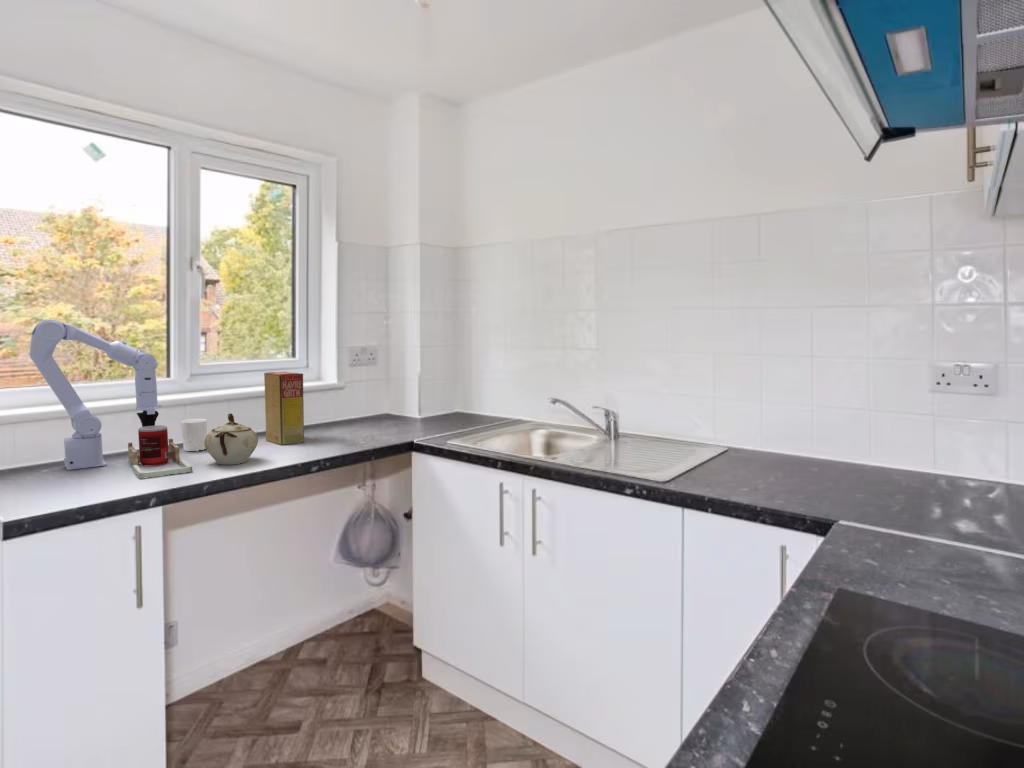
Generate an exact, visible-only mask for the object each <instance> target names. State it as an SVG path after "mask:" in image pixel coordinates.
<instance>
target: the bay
mask: <svg viewBox="0 0 1024 768" xmlns="http://www.w3.org/2000/svg"><path fill="white" fill-rule="evenodd" d="M178 464H179V465H180V467H176V468H169V469H162V470H161V469H160V470H153V471H147V472H146V471H144V472H143V470H142V469H141V468H140V466H139V464H138V465H133V467H132V471H133V472H134V474H137V475H138V476H137V475H136V476H137V477H138V479H139V478H145V477H152V478H154V477H153V476H160V477H163V476H162V475H168V476H170V475H169V474H175V475H179V474H178V473H183V474H187V473H186V472H190V473H193V470H194V469H193V466H192V465H191V464H189V463H188V462H187V461H186V460H185V459H183V458H182V459H181V458H180V460H179V463H178ZM145 479H146V478H145Z"/></svg>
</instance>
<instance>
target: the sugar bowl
mask: <svg viewBox="0 0 1024 768" xmlns="http://www.w3.org/2000/svg"><path fill="white" fill-rule="evenodd" d="M234 418H235V416H234V415H233V413H228V414H227V420H228V422H227V423H225V424H223V425H220V426H217V427H216V428H213V429H211V430H210V431H209V433H207V436H206V438H205V440H204V445H205V448H206V450H205V451H207V452H208V454H209V455H210V456H211V457H212V459H213V460H214V461H215V462H216V463H217V464H218V465H222V466H223V465H225V466H226V465H229V466H230V465H231V466H232V465H239V464H240V463H241V464H244V463H246V462H247V461H248V460H249V458H250V457H251V455H252V454H253V453H254V451H255V450H256V447H257V446H258V443H259V438H258V435H257V433H256V432H255V431H254V430H253V429H252V428H251V427H249V426H246V425H243V424H241V423H238V422H235V419H234Z"/></svg>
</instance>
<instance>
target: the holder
mask: <svg viewBox="0 0 1024 768" xmlns="http://www.w3.org/2000/svg"><path fill="white" fill-rule="evenodd" d="M127 448H128V450H127V451H128V462H130V463H129V464H130V465H131V467H132V466H133V465H138V466H139V462H138V461H140V454H138V450H137V449H136V448H135V447H134V446H133V442H132V441H131V442H128V443H127ZM168 452H169V459H171V460H172V461H173V462H174V464H176V463H177V464H179V460H181V458H180V457H181V456H180V453H181V452H180V446H179V445H177V444H176V443H175V442H174V439H173V438H168Z"/></svg>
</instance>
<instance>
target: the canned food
mask: <svg viewBox="0 0 1024 768" xmlns="http://www.w3.org/2000/svg"><path fill="white" fill-rule="evenodd" d="M137 429H138V430H137V431H138V434H137V435H138V436H137V437H138V448H139V449H138V450H139V452H138V453H139V455H140V465H141V466H144V465H154V466H160V464H161V465H164V463H165V464H167V463H169V459H170V458H169V452H168V451H169V438H168V437H169V435H168V426H166V425H159V424H158V425H156V424H155V426H145V427H141V426H140V427H139V428H137Z"/></svg>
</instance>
